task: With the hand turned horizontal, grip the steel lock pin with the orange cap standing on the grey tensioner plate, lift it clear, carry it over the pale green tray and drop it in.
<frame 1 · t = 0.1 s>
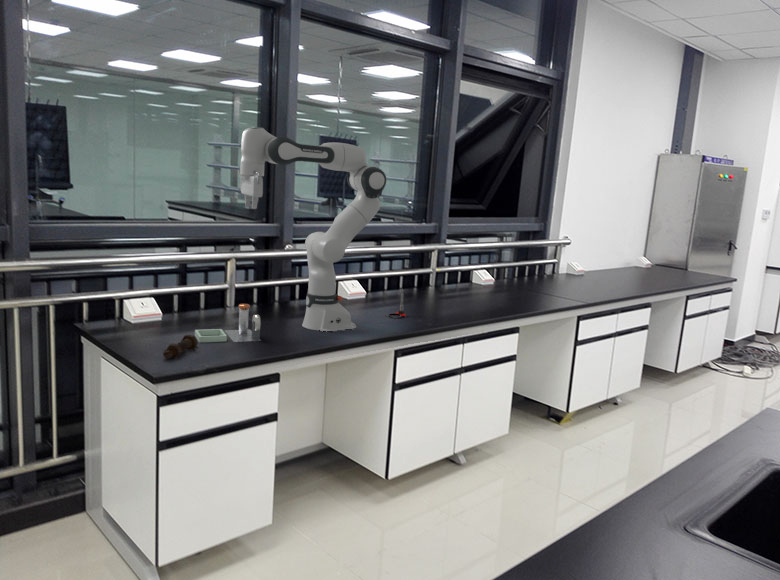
hand: (250, 207, 237), 48 cm above the worktop, tool pointing down, fingers open, 8 cm apart
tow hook: (394, 317, 290), on the worktop
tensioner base: (242, 337, 234), on the worktop
tray: (210, 340, 226), on the worktop
lock pin: (243, 333, 236), point 1 cm above the worktop, touching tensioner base
dark brown lumpy piece: (178, 355, 208), on the worktop
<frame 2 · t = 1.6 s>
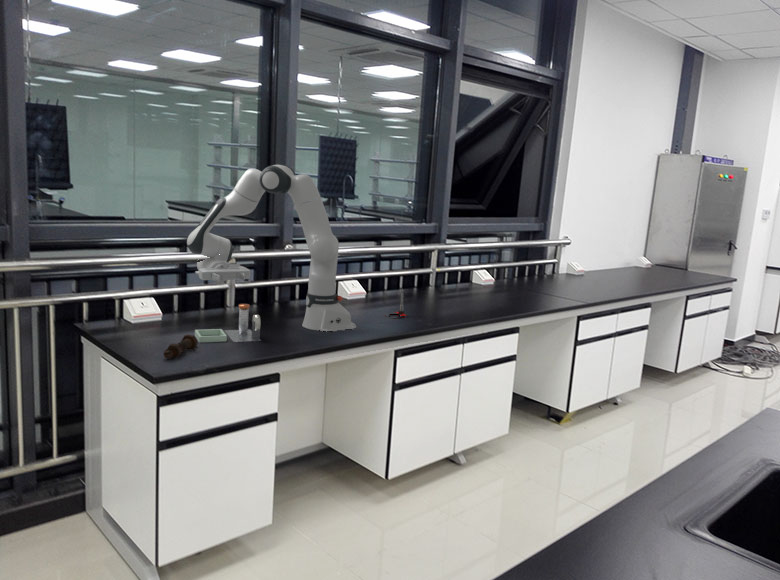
hand: (232, 277, 242), 20 cm above the worktop, tool horizontal, fingers open, 8 cm apart
nothing on the worktop moved.
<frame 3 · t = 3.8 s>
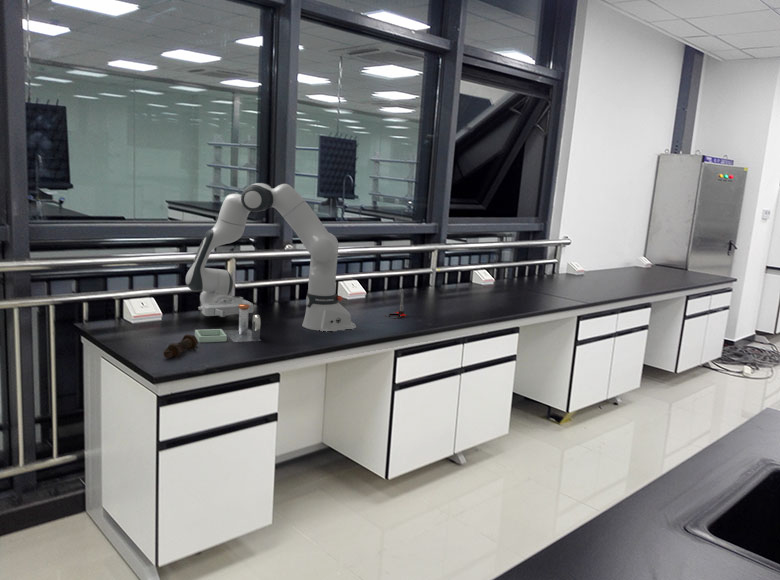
hand: (235, 313, 242), 7 cm above the worktop, tool horizontal, fingers open, 8 cm apart
nothing on the worktop moved.
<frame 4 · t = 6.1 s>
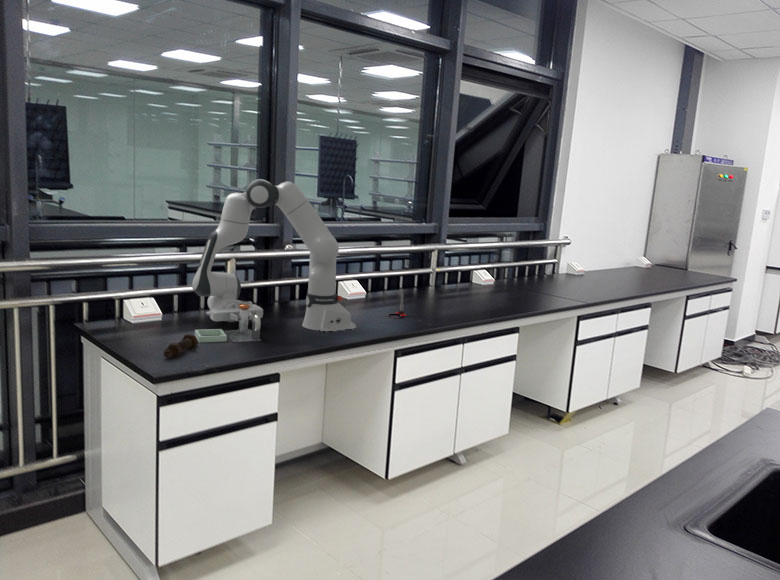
hand: (244, 318, 235), 7 cm above the worktop, tool horizontal, fingers closed on lock pin, 3 cm apart
lock pin: (243, 333, 236), point 1 cm above the worktop, touching gripper, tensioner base
everything else where it was.
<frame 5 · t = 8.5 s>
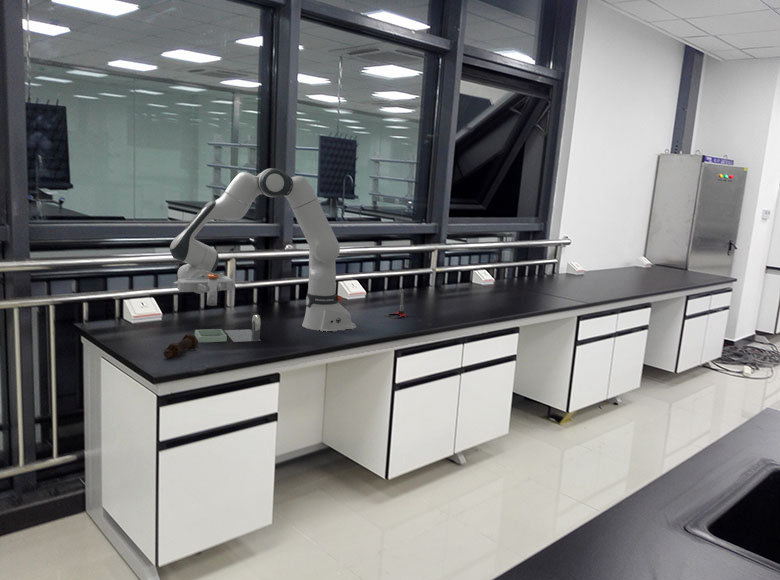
hand: (213, 288, 223), 19 cm above the worktop, tool horizontal, fingers closed on lock pin, 3 cm apart
lock pin: (211, 304, 224), point 13 cm above the worktop, touching gripper
everything else where it was.
when the fingers open (8 cm above the worktop, at t = 10.9 s): lock pin drops 2 cm, resting on tray.
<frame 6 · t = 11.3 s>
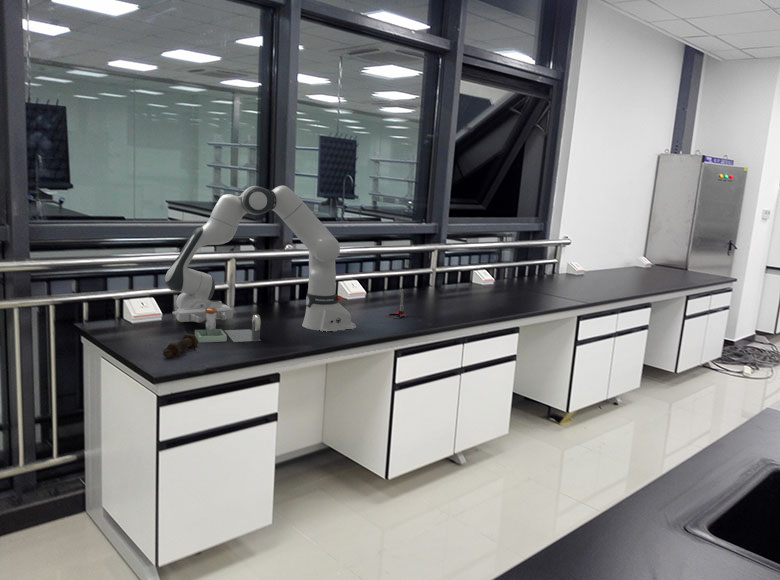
hand: (212, 318, 224), 8 cm above the worktop, tool horizontal, fingers open, 8 cm apart
lock pin: (210, 338, 226), point 1 cm above the worktop, touching tray
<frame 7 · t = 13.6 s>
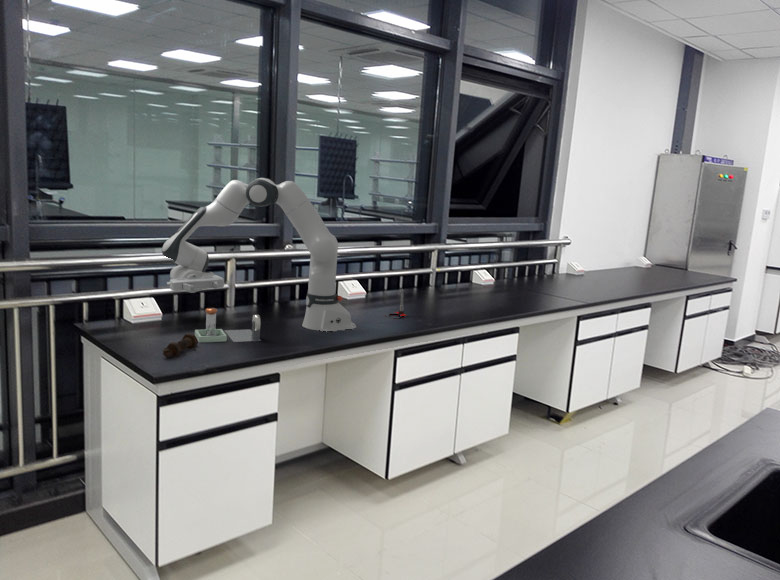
hand: (204, 287, 235), 17 cm above the worktop, tool horizontal, fingers open, 8 cm apart
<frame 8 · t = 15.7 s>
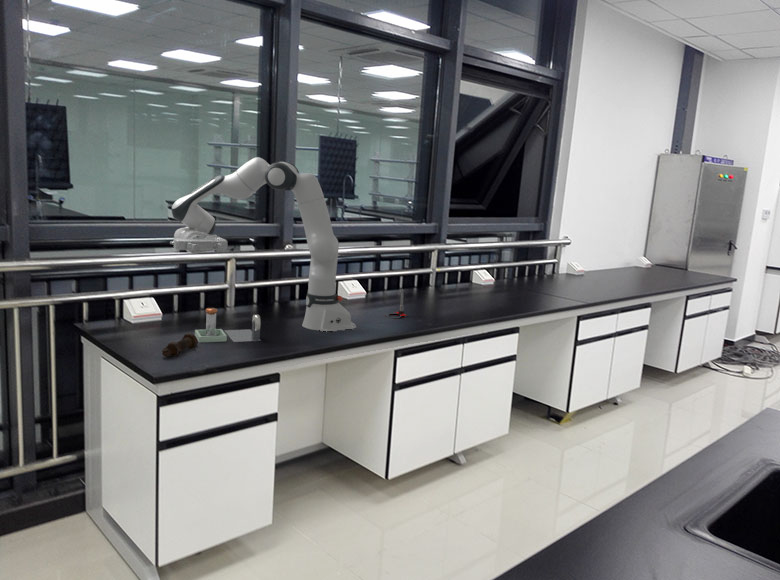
hand: (207, 247, 236), 32 cm above the worktop, tool horizontal, fingers open, 8 cm apart
at the end: lock pin inside the target area on the tray (0.0 cm from its centre), point 0.8 cm above the tray's base; the gripper is holding nothing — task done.
